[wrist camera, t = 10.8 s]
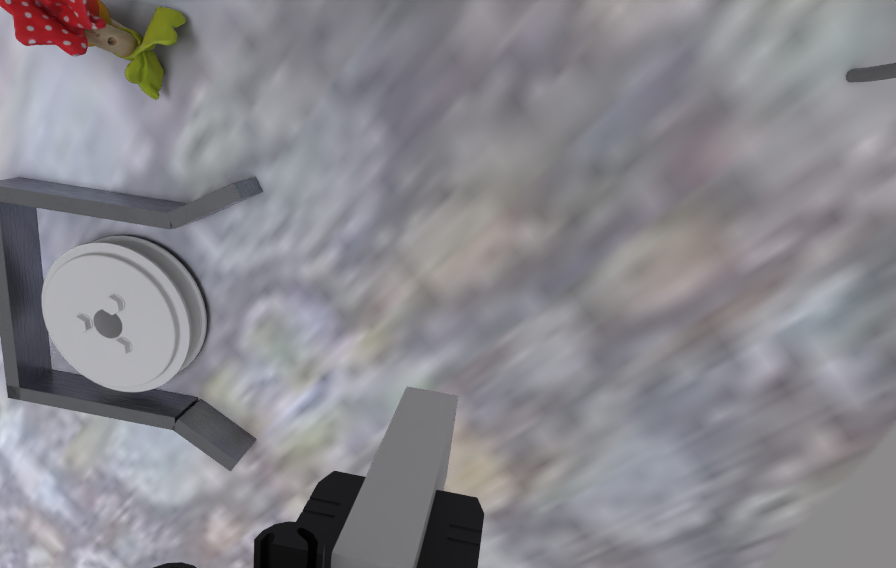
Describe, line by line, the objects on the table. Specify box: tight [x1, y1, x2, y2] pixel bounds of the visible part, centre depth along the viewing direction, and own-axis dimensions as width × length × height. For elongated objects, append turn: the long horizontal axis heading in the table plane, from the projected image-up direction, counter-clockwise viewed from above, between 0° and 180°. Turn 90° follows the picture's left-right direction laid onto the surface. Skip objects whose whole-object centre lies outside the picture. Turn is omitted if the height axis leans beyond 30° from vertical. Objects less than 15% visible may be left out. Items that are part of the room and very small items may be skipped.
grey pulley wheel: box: [42, 236, 207, 392], centre depth 48 cm, size 13×13×5 cm
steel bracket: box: [0, 177, 263, 471], centre depth 49 cm, size 24×21×4 cm
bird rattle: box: [0, 0, 186, 100], centre depth 39 cm, size 6×11×9 cm
